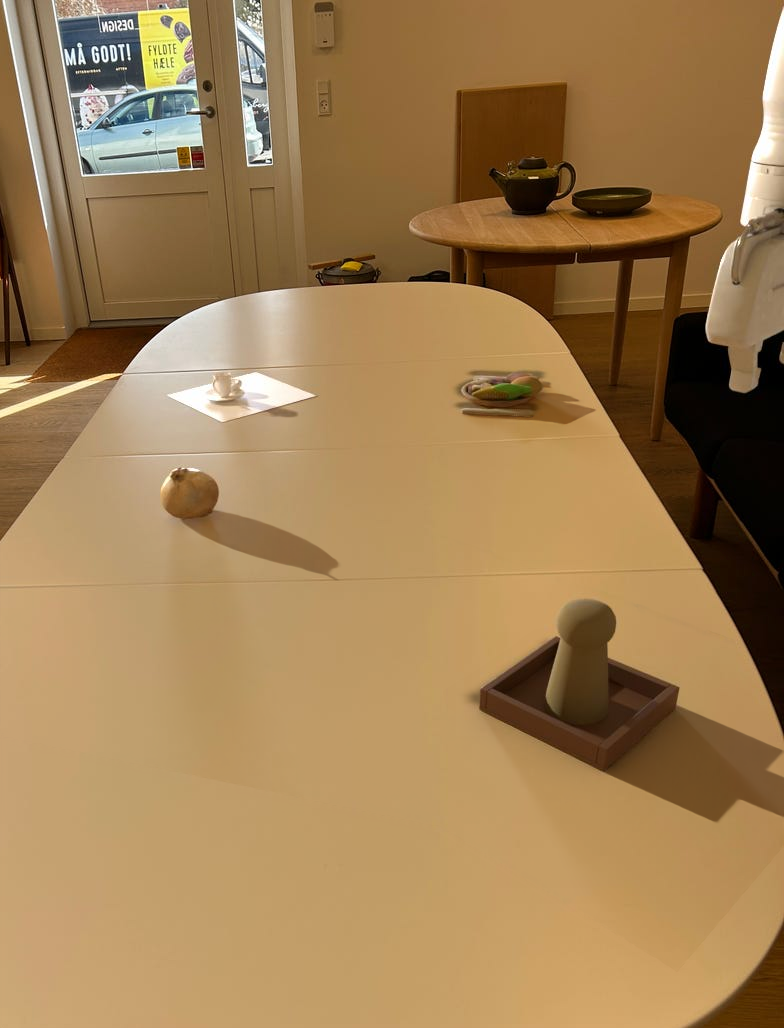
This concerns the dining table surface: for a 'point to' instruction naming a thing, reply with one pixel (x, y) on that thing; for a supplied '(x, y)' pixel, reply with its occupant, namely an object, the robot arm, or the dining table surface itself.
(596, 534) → the dining table surface
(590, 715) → the chess pawn figurine
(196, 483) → the onion
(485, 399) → the toy food set
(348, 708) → the dining table surface
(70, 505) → the dining table surface
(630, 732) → the tray
